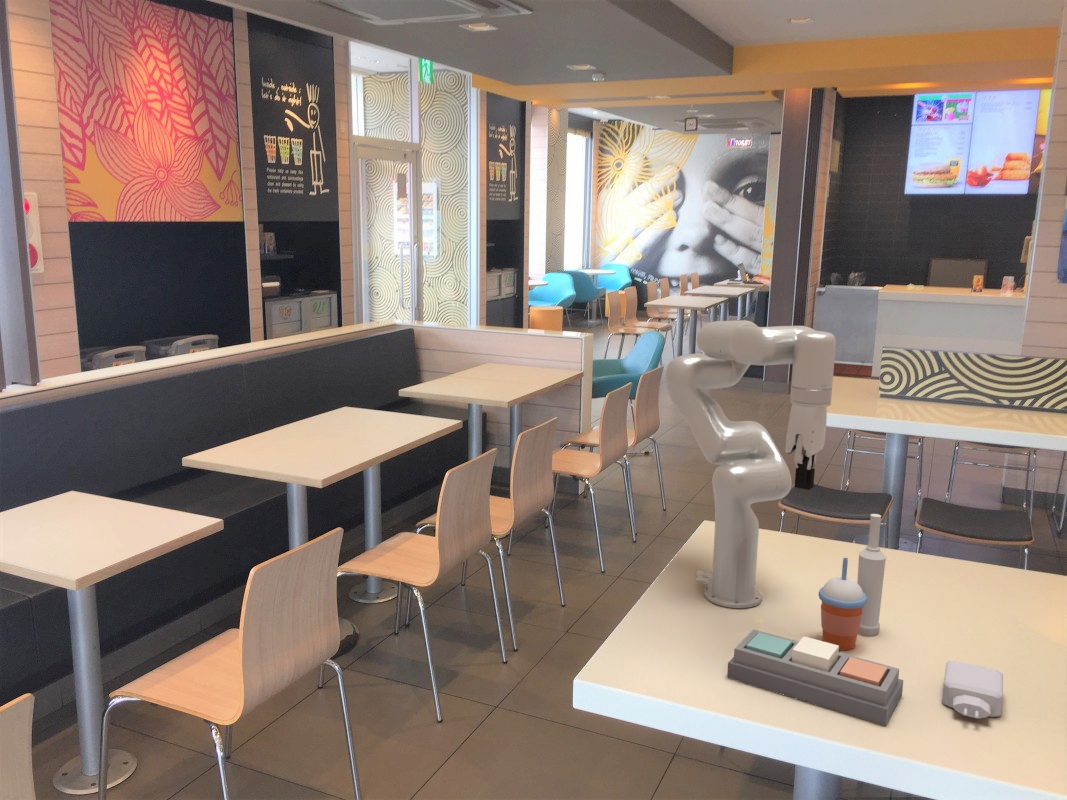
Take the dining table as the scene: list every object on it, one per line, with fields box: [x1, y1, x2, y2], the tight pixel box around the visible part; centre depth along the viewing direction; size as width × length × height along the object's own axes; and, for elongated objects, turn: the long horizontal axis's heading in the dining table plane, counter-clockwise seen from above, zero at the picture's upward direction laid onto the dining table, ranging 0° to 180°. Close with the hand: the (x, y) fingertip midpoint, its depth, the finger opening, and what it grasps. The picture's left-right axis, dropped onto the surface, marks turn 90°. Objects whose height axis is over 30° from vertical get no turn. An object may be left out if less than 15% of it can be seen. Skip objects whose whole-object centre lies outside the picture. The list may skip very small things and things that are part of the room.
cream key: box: [792, 636, 840, 672], centre depth 158 cm, size 6×6×3 cm
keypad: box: [726, 629, 904, 727], centre depth 159 cm, size 28×12×6 cm, turn 55°
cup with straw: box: [817, 557, 867, 651], centre depth 174 cm, size 9×9×18 cm
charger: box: [941, 660, 1004, 719], centre depth 153 cm, size 5×9×15 cm
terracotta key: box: [840, 657, 888, 687], centre depth 154 cm, size 6×6×3 cm
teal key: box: [746, 633, 792, 659], centre depth 163 cm, size 6×6×3 cm
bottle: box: [856, 513, 887, 637], centre depth 179 cm, size 5×5×25 cm
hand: (803, 487), depth 172 cm, fingers closed
